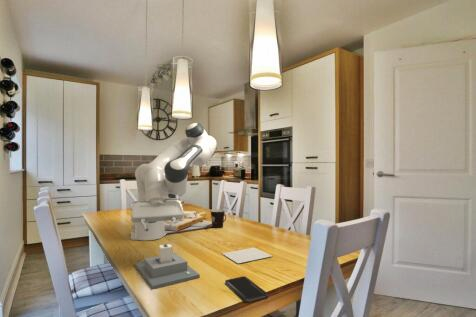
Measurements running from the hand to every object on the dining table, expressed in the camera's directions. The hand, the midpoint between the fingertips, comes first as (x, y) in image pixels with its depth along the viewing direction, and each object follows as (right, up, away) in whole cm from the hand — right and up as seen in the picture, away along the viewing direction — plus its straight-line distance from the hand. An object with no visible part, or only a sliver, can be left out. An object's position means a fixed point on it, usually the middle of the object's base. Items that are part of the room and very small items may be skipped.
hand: (159, 229), depth 106 cm
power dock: (+4, -14, -6) cm, 15 cm away
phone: (+33, -14, -21) cm, 41 cm away
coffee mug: (+18, -15, +62) cm, 66 cm away
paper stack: (+33, -14, +5) cm, 36 cm away
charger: (+4, -13, -6) cm, 15 cm away
